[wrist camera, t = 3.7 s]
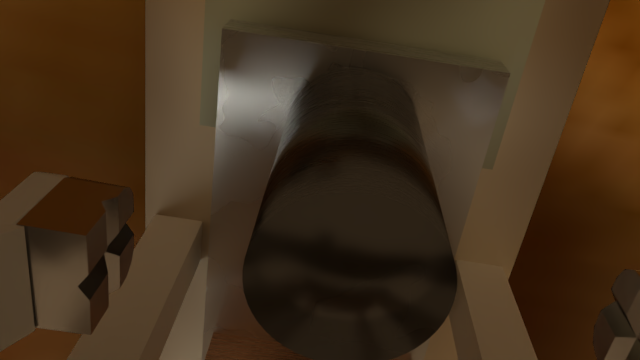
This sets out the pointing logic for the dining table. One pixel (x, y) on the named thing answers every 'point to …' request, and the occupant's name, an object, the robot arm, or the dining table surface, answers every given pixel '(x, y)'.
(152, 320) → the tunnel
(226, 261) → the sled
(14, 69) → the dining table surface
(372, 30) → the track
